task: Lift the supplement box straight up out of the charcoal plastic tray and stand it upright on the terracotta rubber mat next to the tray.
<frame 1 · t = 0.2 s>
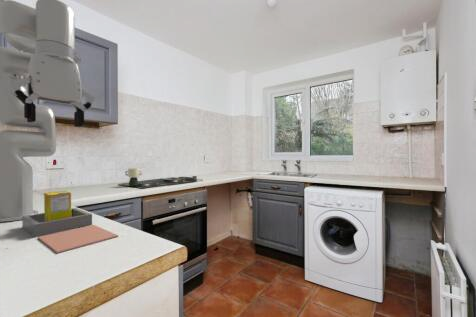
hand: (56, 124, 57), 31 cm above the counter, tool pointing down, fingers open, 9 cm apart
supplement box: (57, 226, 74), resting in tray
character mug: (133, 186, 167), on the counter
mat: (78, 237, 64), on the counter
tray: (57, 225, 74), on the counter
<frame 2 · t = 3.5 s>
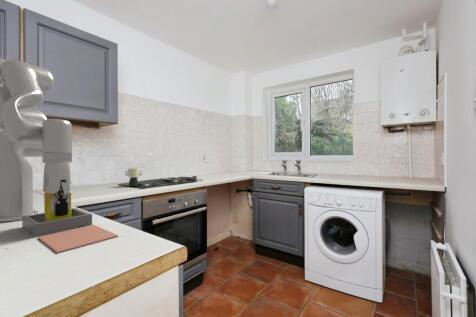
hand: (57, 213, 74), 4 cm above the counter, tool pointing down, fingers closed on supplement box, 6 cm apart
supplement box: (58, 226, 74), resting in tray, touching gripper
everything else where it was.
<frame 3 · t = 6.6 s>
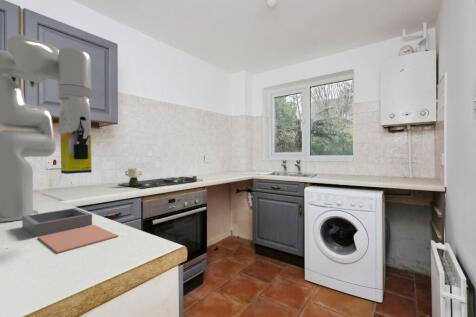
hand: (76, 158, 65), 22 cm above the counter, tool pointing down, fingers closed on supplement box, 6 cm apart
supplement box: (76, 173, 65), point 18 cm above the counter, touching gripper
everything else where it was.
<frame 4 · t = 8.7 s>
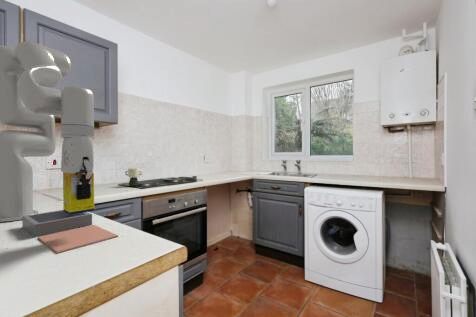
hand: (78, 197, 64), 11 cm above the counter, tool pointing down, fingers closed on supplement box, 6 cm apart
supplement box: (78, 212, 64), point 7 cm above the counter, touching gripper
everything else where it was.
when the fingers open (6 cm above the counter, at t = 10.2 s): supplement box drops 1 cm, resting on mat.
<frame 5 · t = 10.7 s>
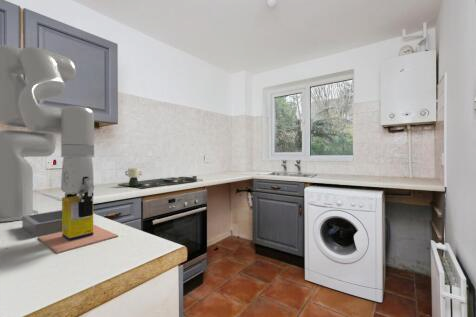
hand: (78, 213, 64), 7 cm above the counter, tool pointing down, fingers open, 9 cm apart
supplement box: (77, 236, 64), resting on mat
everything else where it was.
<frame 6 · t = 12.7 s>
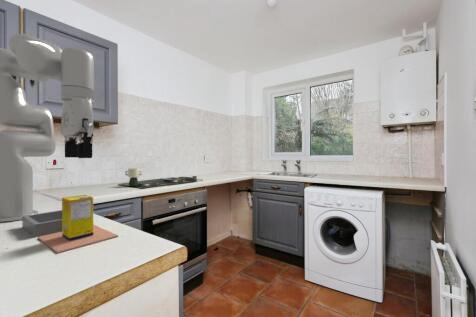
hand: (78, 157, 64), 22 cm above the counter, tool pointing down, fingers open, 9 cm apart
nothing on the counter moved.
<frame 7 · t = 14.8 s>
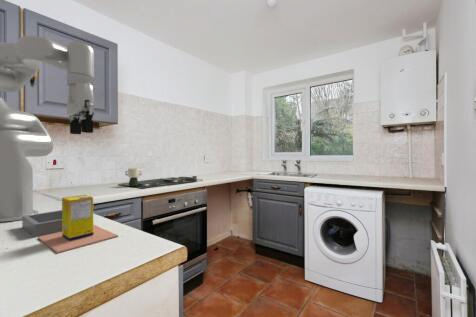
hand: (81, 133, 77), 30 cm above the counter, tool pointing down, fingers open, 9 cm apart
nothing on the counter moved.
at the end: supplement box 0.4 cm from the mat (horizontally); supplement box tilted 0°; the gripper is holding nothing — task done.
